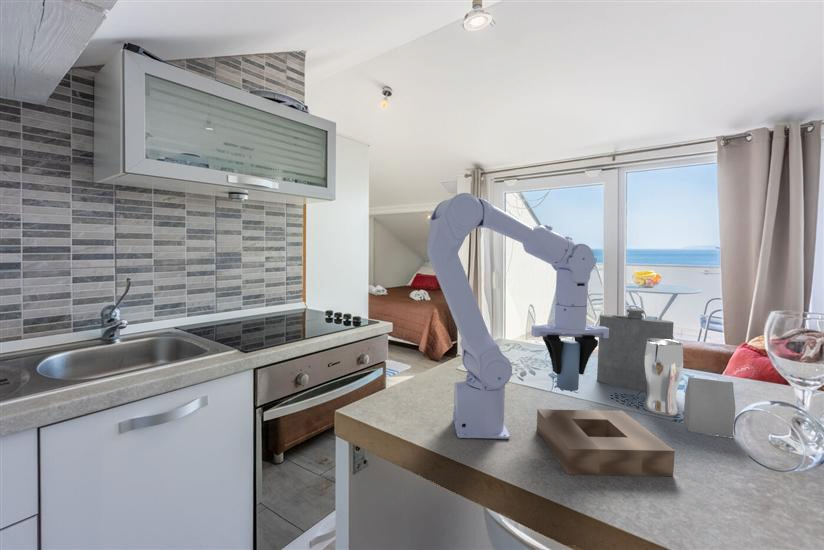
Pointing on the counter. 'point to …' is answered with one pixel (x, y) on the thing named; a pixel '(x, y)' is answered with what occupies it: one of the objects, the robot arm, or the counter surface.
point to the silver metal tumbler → (662, 375)
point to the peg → (569, 366)
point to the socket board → (603, 443)
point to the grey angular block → (709, 407)
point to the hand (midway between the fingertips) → (568, 372)
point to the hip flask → (628, 348)
